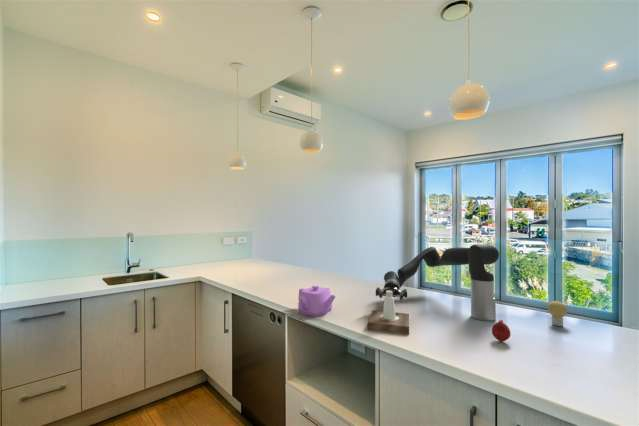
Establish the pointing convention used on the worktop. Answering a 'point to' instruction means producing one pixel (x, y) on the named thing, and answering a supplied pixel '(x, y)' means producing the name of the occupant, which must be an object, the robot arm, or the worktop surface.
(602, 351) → the worktop surface
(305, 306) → the teakettle
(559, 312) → the light bulb
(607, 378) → the worktop surface
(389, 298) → the pepper shaker
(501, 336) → the onion
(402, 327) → the walnut plinth
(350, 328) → the worktop surface
